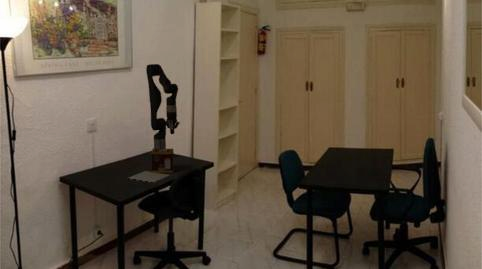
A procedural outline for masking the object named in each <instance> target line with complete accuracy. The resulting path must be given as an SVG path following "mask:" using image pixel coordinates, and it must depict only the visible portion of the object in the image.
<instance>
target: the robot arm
mask: <svg viewBox="0 0 482 269" xmlns="http://www.w3.org/2000/svg"><path fill="white" fill-rule="evenodd" d="M145 71H146V77H147V84H148V97H149V104H150V106H149V107H150V125H151V126H150V127H151V129H152V131H155V134H153V148H152V149H167V143H166V142H167V141H166V140H167V139H166V135H167V128H168V129H169V134H170V135H174V134H175V129H177V128H178V127H179V125H180V123H181V122H180V121H178V119H177V118H178V114H177V113H178V112H177V110H178V109H177V108H178V107H177V96H178V92H179V86H178V85H177V83H172V81H171V80H170V79H169V77H167V75H166V74H165V72H164V69H163V68H162V66H161V65H160V64H159V63H153V64H147V65H146V69H145ZM154 77H158V82H159V84H160V85H161V86H162V89H163V93H164V94H167V95H169V96H167V97H166V100H165V101H166V104H165V105H166V106H165V107H166V108H165V109H166V110H165V111H166V119H165V118H164V117H158V111H159V109H160V107H161V105H162V102H163V101H162V92H161V90H160V89H159V87H158V86H157V84H156V83H155V81H154ZM170 94H171V95H170Z"/></svg>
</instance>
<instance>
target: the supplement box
mask: <svg viewBox="0 0 482 269" xmlns="http://www.w3.org/2000/svg"><path fill="white" fill-rule="evenodd" d="M150 153H151V172H152V173H160V174H166V173H167V174H168V173H171V174H172V173H174V170H175V165H174V164H175V163H174V156H175V155H174V148H166V149H153V148H152V150H151V152H150Z"/></svg>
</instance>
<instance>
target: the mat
mask: <svg viewBox="0 0 482 269" xmlns="http://www.w3.org/2000/svg"><path fill="white" fill-rule="evenodd" d="M170 176H171V175H170V174H166V173H152V171H147V170H145V171H142V172H140V173H139V172H138V173H137V174H134V175H132V176H129V177H128V178H130V180H133V179H136V180H135V181H139V180H142V181H141V182H145V181H148V182H147V183H150V182H154V183H157V182H159V181H161V180H163V179H166V178H168V177H170ZM158 180H159V181H158ZM156 181H157V182H156Z"/></svg>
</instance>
